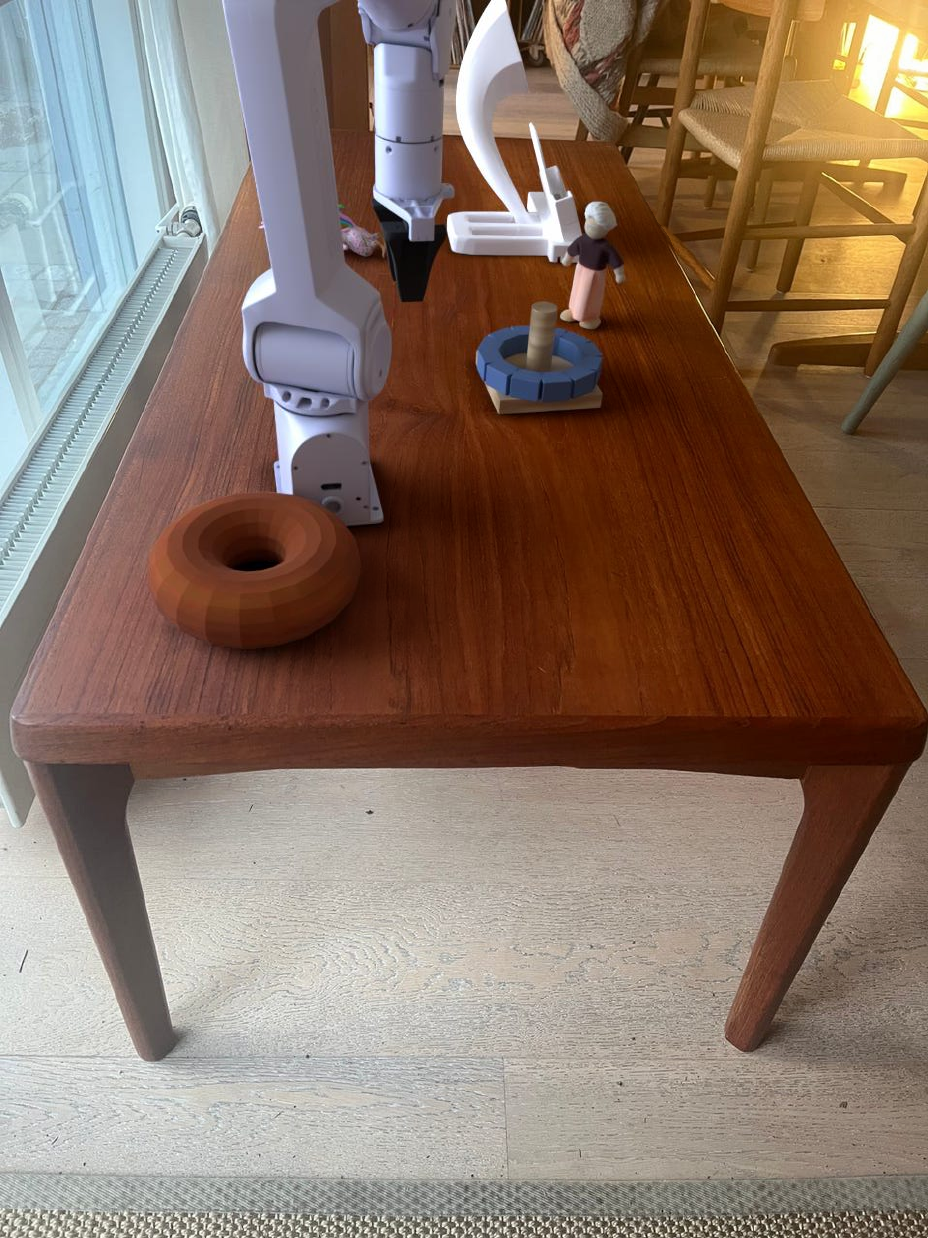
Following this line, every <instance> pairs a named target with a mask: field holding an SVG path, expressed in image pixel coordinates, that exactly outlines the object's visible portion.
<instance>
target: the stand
mask: <svg viewBox="0 0 928 1238" xmlns="http://www.w3.org/2000/svg"><path fill="white" fill-rule="evenodd" d="M558 309H559V308H558V306H557V305H556V304H555V303H552V302H549V301H536V302H534V303H533V304H532V305H531V311H530V319H529V321H530V322H529V325H530V330H529V340H528V350H527V353H517V354H515V355H512V356H510V357H507V358H505V359H504V360H505V361H507V362H508V363H510V364H512V365H514V366H516V367H518V368H520V369H525V370H530V371H535V372H541V373H542V372H557V371H564V370H567V369H569V368H571V367H574V365H573V363H571V362H569V361H567V360H565V359H563V358H561V357H559V356H555V355H552V354H553V345H554V337H555V328H557V321H558V320H557V318H558ZM477 357H478V349H477V350H476V352H475V365H476V366H477ZM483 383H484V385H485V388H486V389H487V392H488V394H489V396H490V399H491V401H492V403H493V405H494V407H495V409H496V412H497V414H498V415H510V414H525V413H527V414H528V413H540V412H542V413H543V412H555V411H570V410H585V409H600V408H601V407H602V401H603V395H604V393H603V392H602V391H601V388H600V387H599V385H598V384H597V385H596V387H595V389H593V390H592V391H591V392H588V393H586V394H584V395H582V396H580V397H578V398H575V399H572V398H570V400H568V401H555V402H542V401H541V400H540V398H539V400H538V402H535V401H530V400H524V399H519V398H514V397H510V393H509V394H507V395H504V394H502V393H501V392H499V391H497V390H495V389H494V388H492V387H490V386H488V385H486V382H483Z"/></svg>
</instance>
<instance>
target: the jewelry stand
mask: <svg viewBox="0 0 928 1238" xmlns="http://www.w3.org/2000/svg"><path fill="white" fill-rule="evenodd" d="M515 35H516V34H515V31H514V29H513V25H512V19H511V16H510V13H509V9H508V5H507V1H506V0H490V2H489V3H488V5H487V7H485V9H484V12H482V15H481V16H480V18H479V20H478V23H477V24H476V26H475V28H474V30H473V32H472V35H471V37H470V39H469V42H468V44H467V47H466V49H465V52H464V54H463V58H462V61H461V65H460V69H459V73H458V78H457V85H456V94H455V95H456V96H455V97H456V98H455V108H456V109H455V110H456V118H457V123H458V126H459V130H460V133H461V137H462V139H463V142H464V144H465V145H466V148H467V150H468V152H469V154H470V155H471V157H472V159H473V161H474V163H475V165H476V166H477V168H478V170H479V172H480V173H481V175H482V177H483V178H484V179H485V181H486V183H487V184H488V185H489V187H490V188H491V189H492V190H493V192H494V193H495V194H496V196H497V197H498V198H499V199H500V200H501V201H502V203H503V204H504V206H505V207H506V208H507V210H508V211H458V212H452V213H449V214H448V215H447V221H446V229H447V236H448V240H449V244H450V249H451V251H452V252H454V253H456V254H463V255H470V256H538V257H541V256H543V257H545V256H546V257H547V258H548V260H549V262H551V263H555V264H556V263H558V260H559V262H560V263H561V264H562V260H563V258H564V257H565V254H566V252H567V249H568V247H569V246H570V245H571V244H572V243H573V241H574V240H575V239H577V238H578V237H579V236H581V235H583V233H582V230H581V225H580V221H579V216H578V212H577V207H576V206H577V205H576V203H575V198H574V195H573V193H572V192H571V190H567V189H566V186H565V183H564V179H563V178H562V174H561V172H560V169H559V168H558V166H557V165H552V166H550V167H547V165H546V161H545V157H544V152H543V149H542V148H543V147H542V144H541V142H540V141H541V140H540V138H539V135H538V132H537V129H536V127H535V125H534V123H533V122H529V125H528V126H529V132H530V136H531V140H532V144H533V148H534V152H535V157H536V161H537V164H538V167H539V171H538V174H539V178H540V182H541V186H542V190H543V191H528V193H527V194H528V195H527V205H526V206H527V207H526V208H525V205H524V203H523V200H522V199H521V197H520V194H519V193H518V190H517V189H516V186H515V184H514V183H513V181H512V178H511V177H510V175H509V172H508V170H507V168H506V166H505V163H504V161H503V159H502V156H501V153H500V151H499V148H498V144H497V143H496V138H495V134H494V127H493V117H494V113H495V110H496V108H497V106H498V105H499V103H501V101H502V100H504V99H506V98H507V97H509V96H512V95H517V94H518V95H519V94H520V95H521V94H526V95H530V94H531V90H530V86H529V82H528V78H527V74H526V70H525V66H524V65H525V64H524V62H523V58H522V55H521V52H520V49H519V46H518V42H517V39H516V36H515ZM578 261H579V255H577V256H575V258H574V259H573V260H572V263H571V264H574V263H576V264H578Z"/></svg>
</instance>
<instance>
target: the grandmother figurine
mask: <svg viewBox="0 0 928 1238" xmlns="http://www.w3.org/2000/svg"><path fill="white" fill-rule="evenodd" d="M584 216H585V217H584V218H585V223H584V232H585V233H582V235H581V236H579V237H578V238H577V239H575V240H574V241H573V243H572V244H571V245H570V246H569V247H568V249H567V252H566V254H565V257H564V258H563V260H562V263H561V264H562V266H563V267H570V266H571V265H572V264H573V263H572V260H573V259H574V258H575V256H577V255H579V261H578V263H576V266H575V271H574V275H573V276H574V277H573V282H572V288H571V291H570V297H569V302H568V303H569V304H568V309H565V310H563V311H562V312H561V313H560V315H559V317H560V319H561V320H562V321H565V322H568V323H569V322H576V321H578V322H579V323H578V324H579V327H581V328H584V329H587V330H595V329H597V328H598V327H599V326H600V325H601V323H602V321H601V318H600V315H601V311H602V306H603V302H604V299H605V290H606V278H607V267H608V266H609V268H610V269H611V270H612V271H613V273H614V275H615V282H616V283H617V284H620V285H621V284H623V283H625V282H626V280H627V277H626V275H625V268H624V264H625V261H624V259H623V257H621V254H620V253H619V251H618V249H616V247H614V246H613V244H611V243H610V242H609V240H608V239H606V238H605V237H606V236H607V235H608V233H609V232H610V231H612V230H613V229H614V228H615V227H618V224H617V219H616V216H615V213H614V212H613V210H612V208H611V206H609V204H608V203H607V202H604V201H592V202H590V203H588V204H587V206H586V207H585V212H584ZM607 265H608V266H607Z"/></svg>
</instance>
